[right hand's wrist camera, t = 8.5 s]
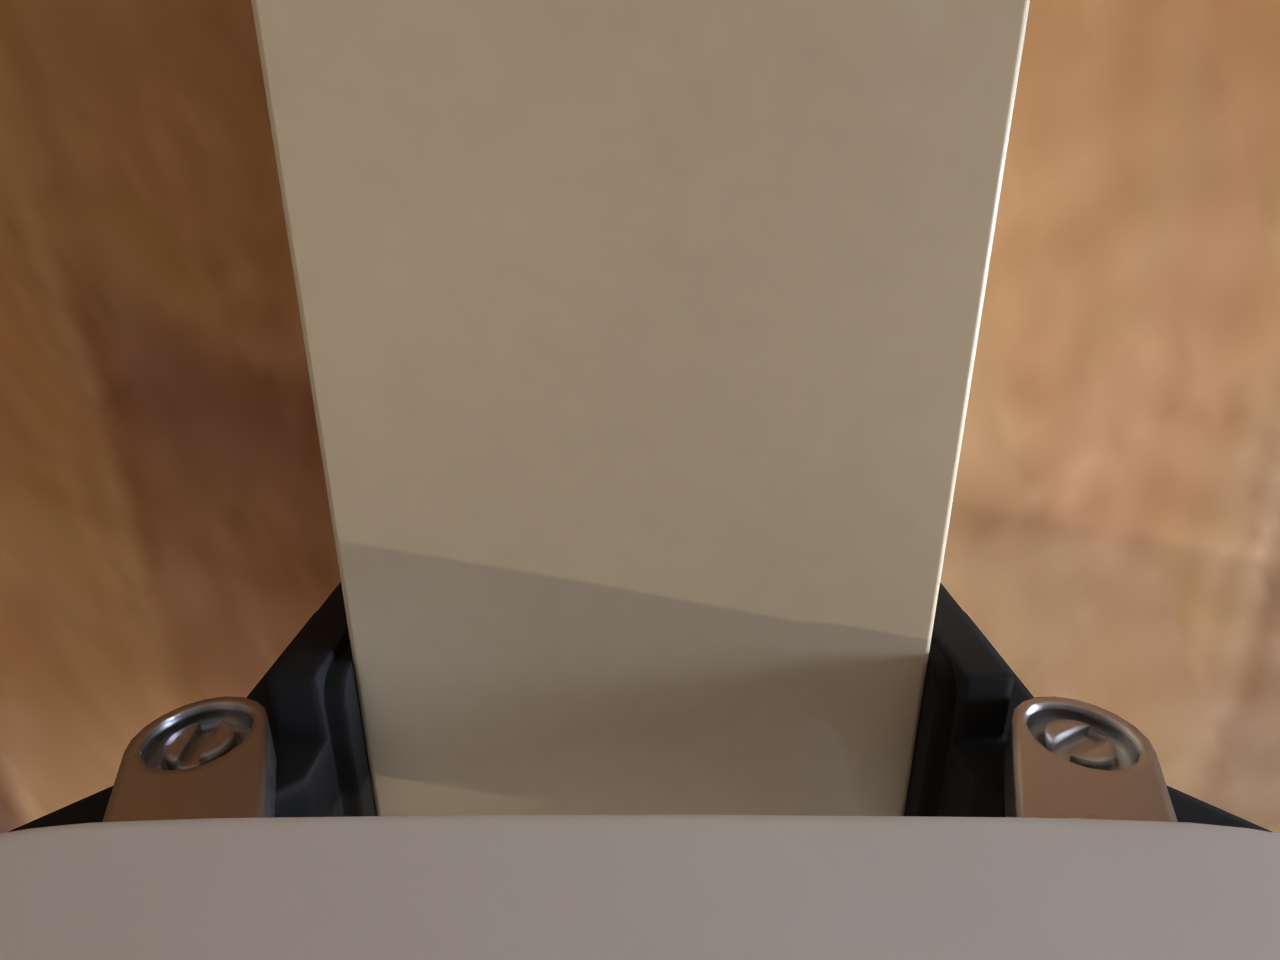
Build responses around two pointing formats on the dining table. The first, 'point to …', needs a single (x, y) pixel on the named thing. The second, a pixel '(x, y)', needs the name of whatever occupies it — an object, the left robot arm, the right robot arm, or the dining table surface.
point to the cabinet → (640, 381)
